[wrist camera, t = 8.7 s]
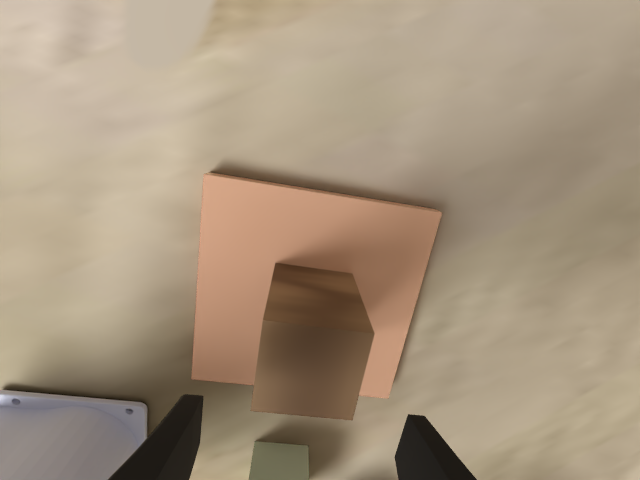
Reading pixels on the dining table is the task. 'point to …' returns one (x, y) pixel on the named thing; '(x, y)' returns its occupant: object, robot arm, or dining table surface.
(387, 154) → the dining table surface
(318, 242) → the terracotta tile
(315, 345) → the walnut block
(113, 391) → the dining table surface
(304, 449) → the sage painted cube
